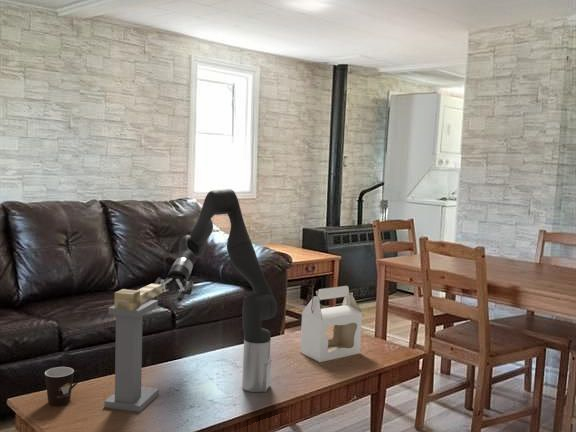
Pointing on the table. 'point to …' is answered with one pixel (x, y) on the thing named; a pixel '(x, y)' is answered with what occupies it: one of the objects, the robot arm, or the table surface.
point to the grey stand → (130, 360)
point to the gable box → (321, 319)
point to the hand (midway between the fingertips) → (167, 299)
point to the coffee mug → (60, 385)
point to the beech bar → (136, 296)
